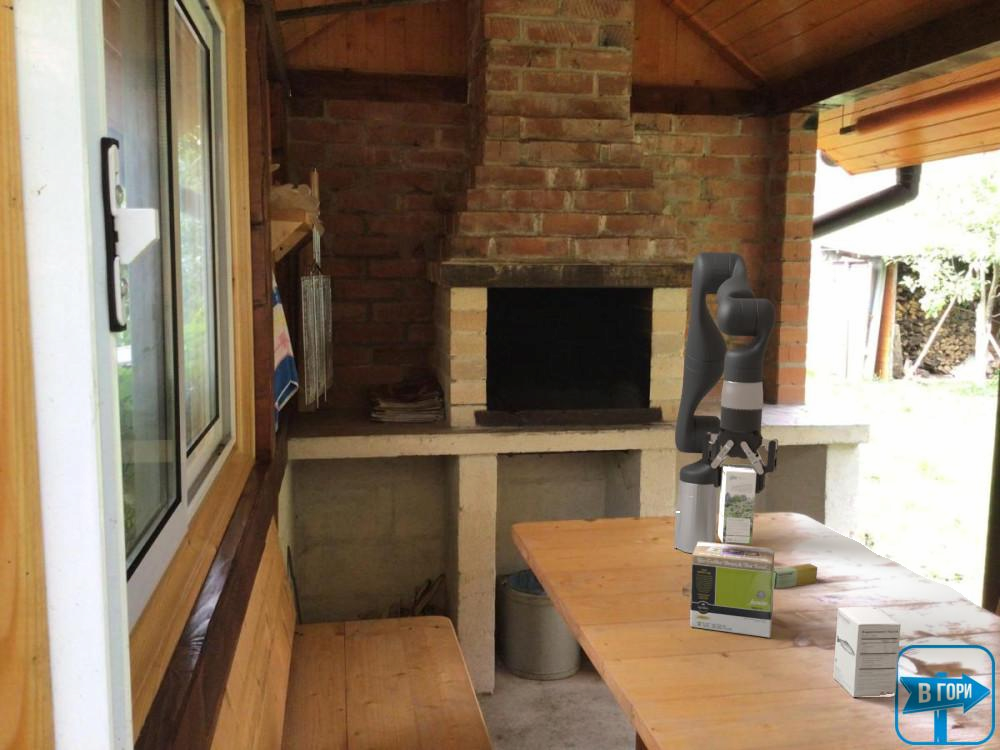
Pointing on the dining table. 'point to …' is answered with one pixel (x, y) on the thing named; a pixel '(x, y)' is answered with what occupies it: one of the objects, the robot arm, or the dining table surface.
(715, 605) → the tea box
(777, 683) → the dining table surface
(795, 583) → the medication box
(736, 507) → the syrup box
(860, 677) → the supplement box
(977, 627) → the dining table surface
